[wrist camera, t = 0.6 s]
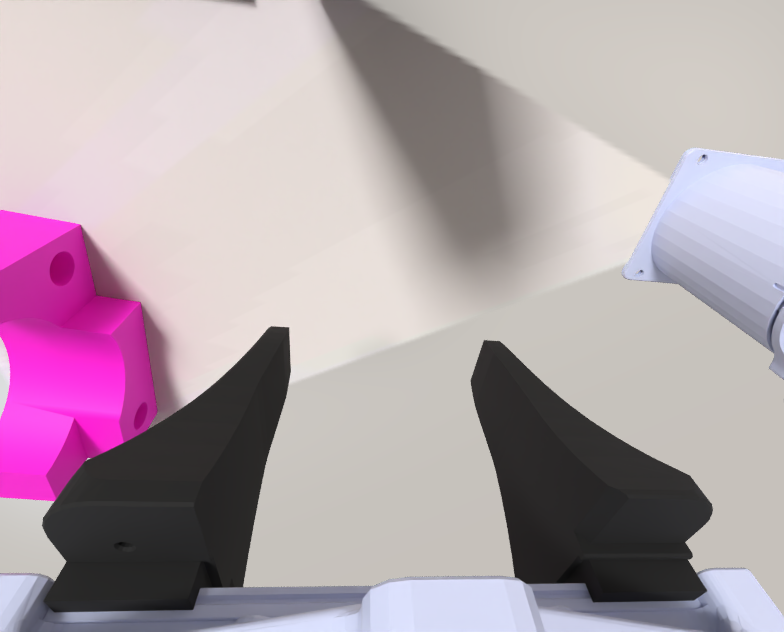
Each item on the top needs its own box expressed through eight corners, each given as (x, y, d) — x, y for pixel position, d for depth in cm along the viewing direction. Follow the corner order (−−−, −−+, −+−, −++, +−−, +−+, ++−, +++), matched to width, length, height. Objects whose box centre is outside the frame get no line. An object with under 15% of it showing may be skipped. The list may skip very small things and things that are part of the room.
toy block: (158, 410, 29) (102, 504, 23) (68, 400, 28) (-15, 496, 22) (131, 232, 21) (35, 303, 15) (4, 208, 20) (-156, 275, 14)
